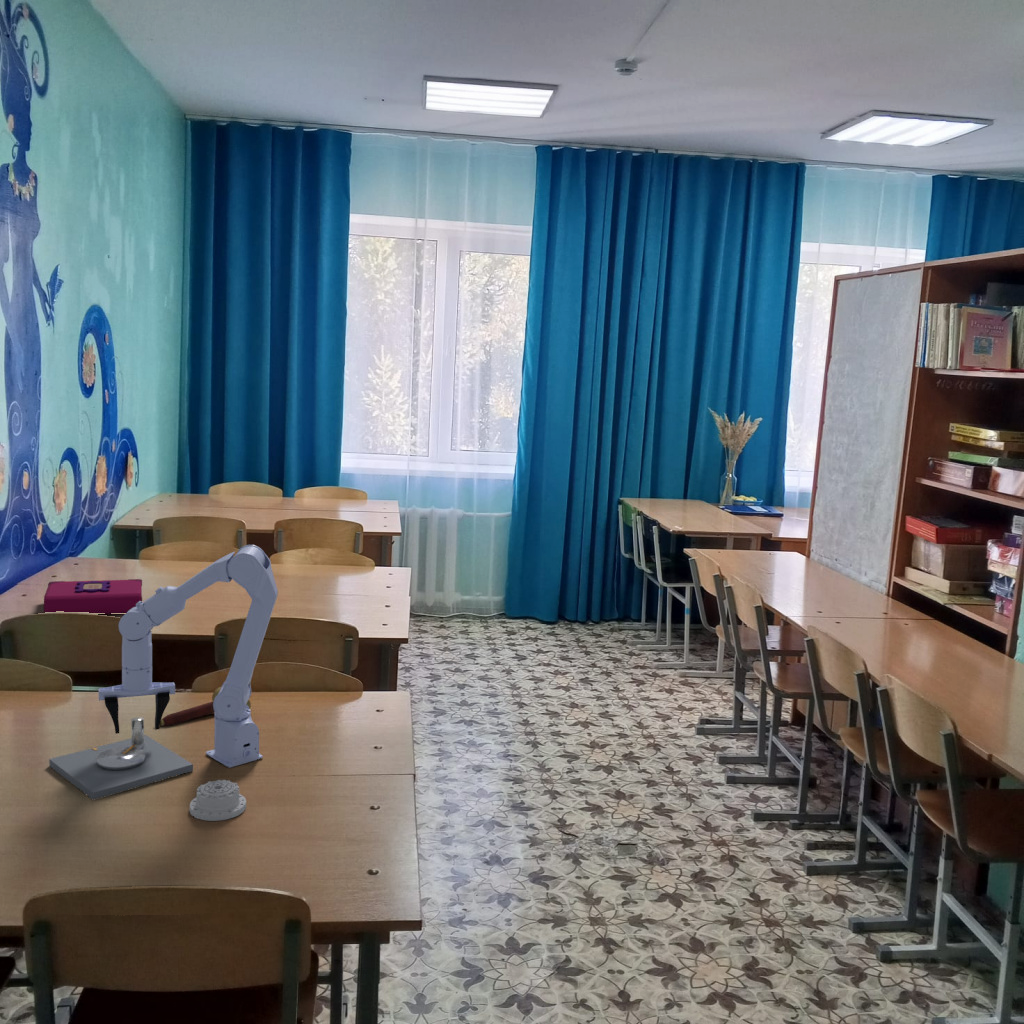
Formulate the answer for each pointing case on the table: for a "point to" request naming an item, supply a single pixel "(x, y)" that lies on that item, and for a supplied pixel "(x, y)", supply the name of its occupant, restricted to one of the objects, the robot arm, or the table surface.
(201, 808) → the mechanical component
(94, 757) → the dial plate
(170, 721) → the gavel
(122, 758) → the dial
